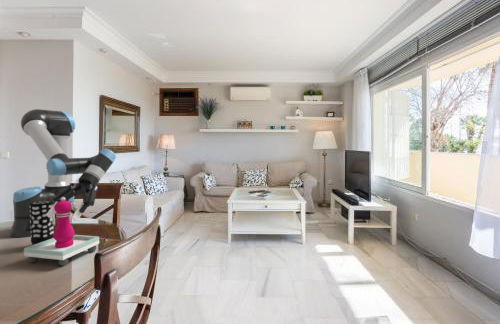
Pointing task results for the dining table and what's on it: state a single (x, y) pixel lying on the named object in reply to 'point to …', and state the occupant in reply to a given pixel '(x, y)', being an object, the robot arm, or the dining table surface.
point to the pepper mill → (63, 224)
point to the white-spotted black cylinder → (41, 222)
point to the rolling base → (61, 249)
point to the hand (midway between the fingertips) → (61, 218)
